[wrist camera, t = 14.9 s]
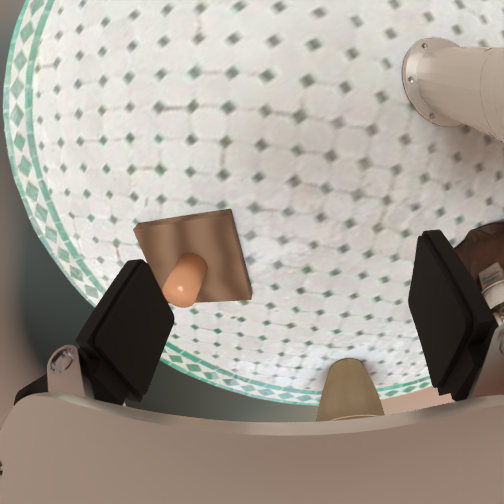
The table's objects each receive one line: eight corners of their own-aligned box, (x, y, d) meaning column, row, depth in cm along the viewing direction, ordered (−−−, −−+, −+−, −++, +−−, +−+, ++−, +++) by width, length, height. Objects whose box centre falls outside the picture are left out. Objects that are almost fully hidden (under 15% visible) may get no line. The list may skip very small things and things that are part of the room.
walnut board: (230, 208, 42) (228, 215, 41) (252, 291, 51) (251, 299, 49) (138, 223, 46) (133, 229, 44) (170, 296, 54) (167, 303, 52)
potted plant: (512, 271, 44) (532, 380, 29) (440, 291, 55) (447, 401, 40) (516, 207, 33) (562, 342, 18) (427, 234, 44) (444, 375, 29)
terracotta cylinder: (202, 251, 45) (188, 280, 39) (211, 276, 47) (200, 306, 41) (173, 254, 46) (157, 282, 40) (184, 279, 48) (170, 308, 43)
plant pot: (301, 366, 62) (299, 429, 49) (357, 339, 55) (365, 408, 42) (337, 388, 67) (339, 444, 54) (387, 366, 60) (397, 425, 47)
